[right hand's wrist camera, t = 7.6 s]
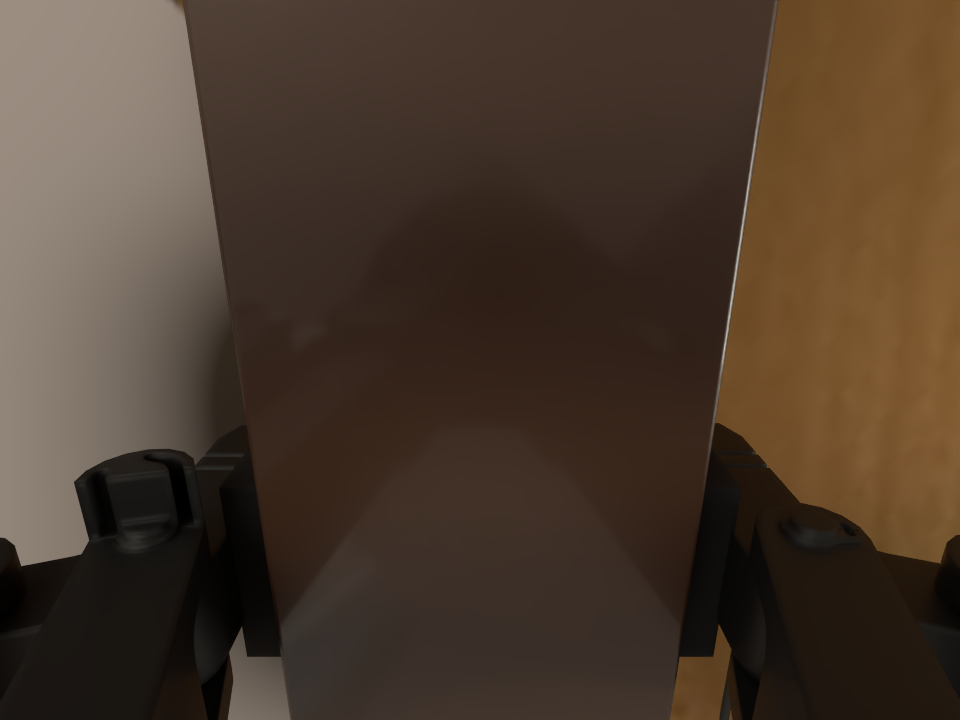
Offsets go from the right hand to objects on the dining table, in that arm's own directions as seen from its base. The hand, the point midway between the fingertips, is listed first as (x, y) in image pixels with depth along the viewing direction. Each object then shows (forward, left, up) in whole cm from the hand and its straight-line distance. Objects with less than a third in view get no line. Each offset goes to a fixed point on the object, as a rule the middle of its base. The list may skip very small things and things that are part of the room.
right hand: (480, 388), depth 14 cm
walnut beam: (-10, 0, -1) cm, 10 cm away
